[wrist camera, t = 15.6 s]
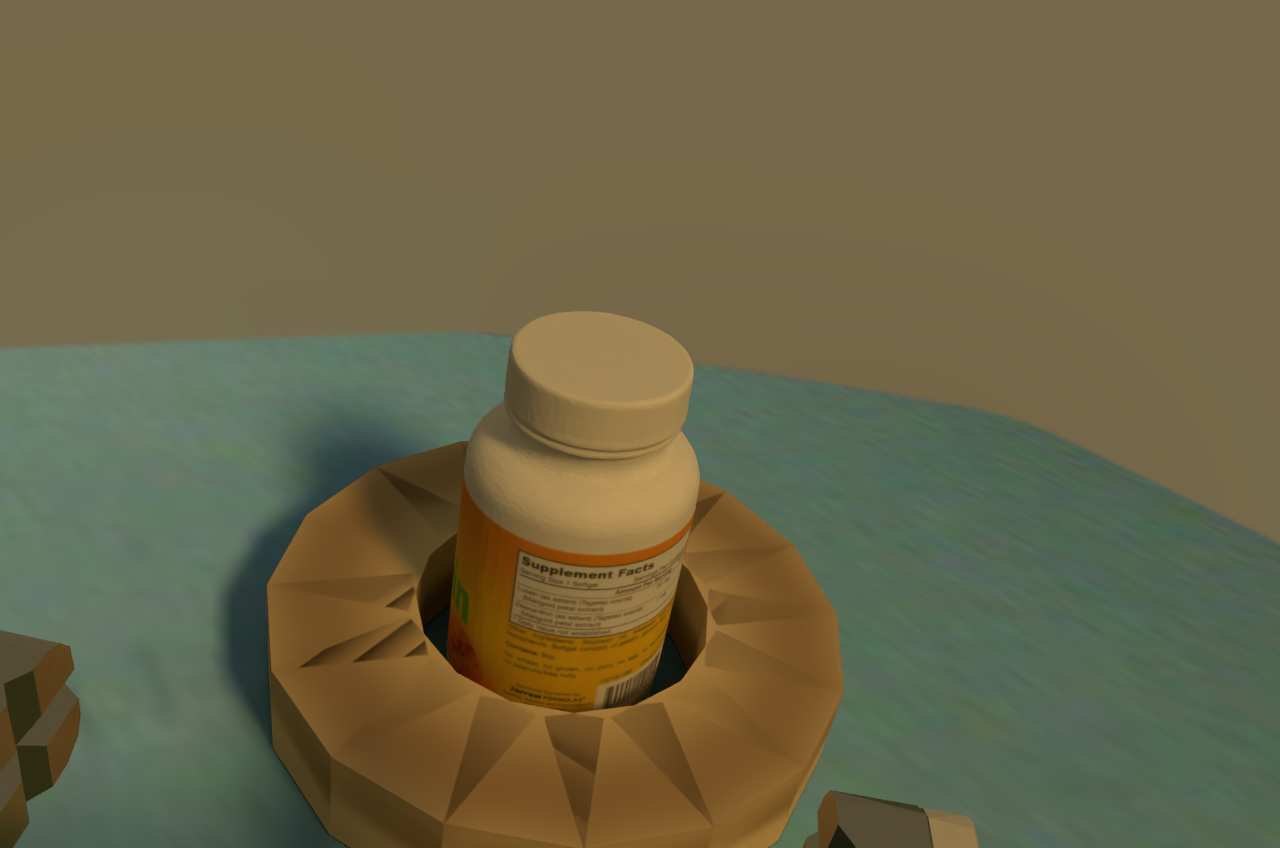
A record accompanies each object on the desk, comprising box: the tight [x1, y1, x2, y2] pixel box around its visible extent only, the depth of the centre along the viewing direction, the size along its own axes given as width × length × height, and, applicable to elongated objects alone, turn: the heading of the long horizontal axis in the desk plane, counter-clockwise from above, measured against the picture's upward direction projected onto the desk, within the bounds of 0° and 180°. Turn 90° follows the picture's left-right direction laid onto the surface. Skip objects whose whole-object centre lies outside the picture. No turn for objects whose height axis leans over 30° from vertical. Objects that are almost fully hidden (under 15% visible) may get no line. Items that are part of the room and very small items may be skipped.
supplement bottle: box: [446, 311, 700, 713], centre depth 26 cm, size 5×5×10 cm
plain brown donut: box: [267, 441, 844, 848], centre depth 28 cm, size 14×14×2 cm
